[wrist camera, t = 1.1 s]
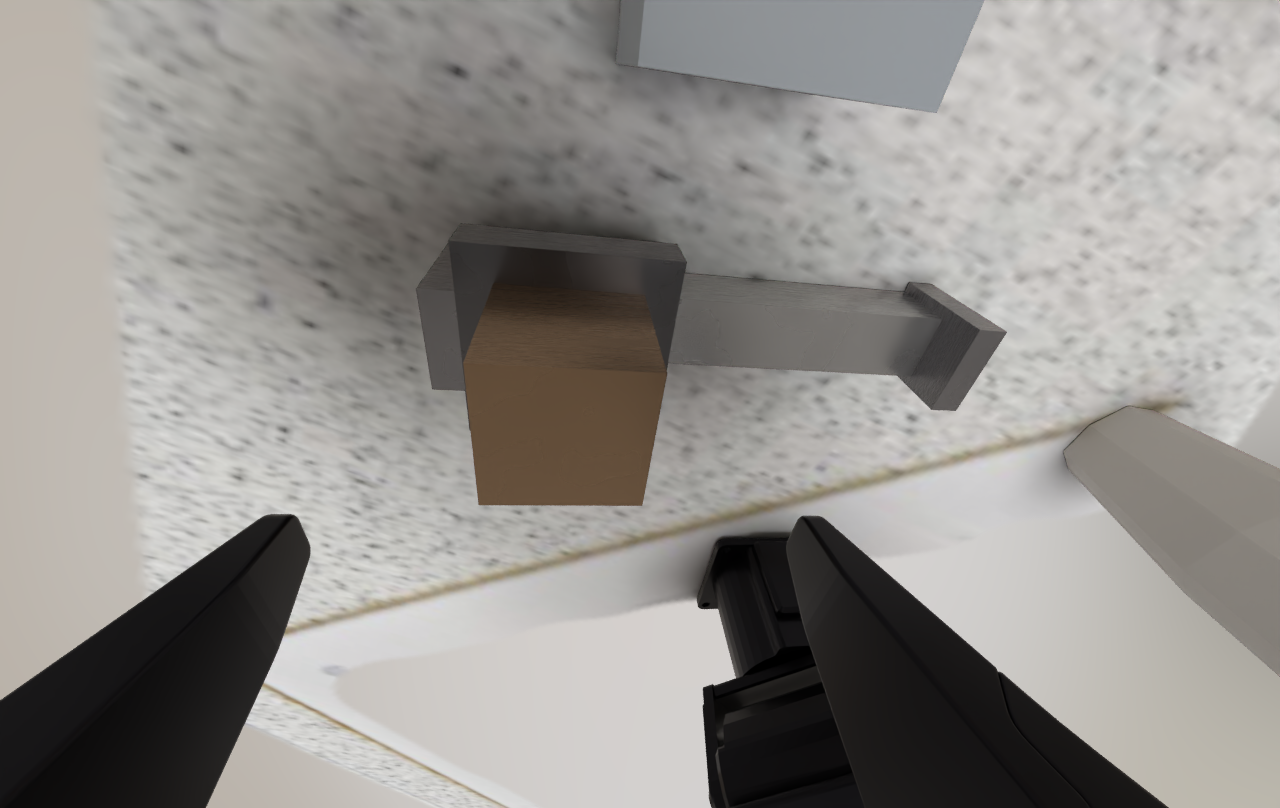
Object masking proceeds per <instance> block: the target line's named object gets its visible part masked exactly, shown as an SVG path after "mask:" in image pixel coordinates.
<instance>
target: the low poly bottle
mask: <svg viewBox="0 0 1280 808" xmlns="http://www.w3.org/2000/svg"><path fill="white" fill-rule="evenodd" d="M1063 452H1064V455H1065V459H1066V463H1067V467H1068V469H1069V470H1070V471H1071V473H1072V474H1073V475H1074V476H1075V477H1076V478H1077V479H1078V480H1079V481H1080V482H1081V483H1082V484H1083V485H1084V486H1085V487H1086V489H1087V490H1088V491H1089V492H1090V493H1091V494H1092V495H1093V496H1094V497H1095V498H1096V499H1097V500H1098V501H1099V502H1100V503H1101V505H1102V506H1103V507H1104V508H1105V509H1106V510H1107V511H1108V512H1109V513H1110V514H1111V515H1112V516H1113V517H1114V518H1115V519H1116V520H1117V522H1118V523H1119V524H1120V525H1121V526H1122V527H1123V528H1124V529H1125V530H1126V531H1127V532H1128V533H1129V534H1130V535H1131V536H1132V538H1133V539H1134V540H1135V541H1136V542H1137V543H1138V544H1139V545H1140V546H1141V547H1142V548H1143V549H1144V550H1145V552H1147V554H1148V555H1149V556H1150V557H1151V558H1152V559H1153V560H1154V561H1155V562H1156V563H1157V564H1158V565H1159V566H1160V567H1161V569H1162V570H1164V572H1165V573H1166V574H1167V575H1168V576H1169V577H1170V578H1171V579H1172V580H1173V581H1174V582H1175V584H1176V585H1177V586H1178V587H1179V588H1180V589H1181V590H1182V591H1183V592H1184V593H1185V594H1186V595H1187V596H1188V597H1190V598H1191V599H1192V600H1193V601H1194V602H1195V603H1196V604H1198V605H1199V606H1200V607H1201V608H1202V609H1203V610H1204V611H1206V612H1207V613H1208V614H1209V615H1210V616H1211V617H1212V618H1214V619H1215V620H1216V621H1217V622H1218V623H1219V624H1220V625H1222V626H1223V627H1224V628H1225V629H1226V630H1227V631H1228V632H1230V633H1231V634H1232V635H1233V636H1234V637H1235V638H1236V639H1237V640H1239V641H1240V642H1241V643H1242V644H1243V645H1244V646H1245V647H1247V648H1248V649H1249V650H1250V651H1251V652H1252V653H1253V654H1254V655H1256V656H1257V657H1258V658H1259V659H1260V660H1261V661H1263V662H1264V663H1265V664H1266V665H1267V666H1268V667H1269V668H1270V669H1272V670H1273V671H1274V672H1275V673H1276V674H1277V675H1278V676H1280V469H1279V468H1277V467H1275V466H1273V465H1270V464H1268V463H1266V462H1264V461H1262V460H1260V459H1257V458H1255V457H1253V456H1251V455H1249V454H1247V453H1245V452H1242V451H1240V450H1238V449H1236V448H1234V447H1232V446H1230V445H1227V444H1225V443H1223V442H1221V441H1219V440H1217V439H1214V438H1212V437H1210V436H1208V435H1206V434H1204V433H1202V432H1199V431H1197V430H1195V429H1193V428H1191V427H1189V426H1186V425H1184V424H1182V423H1180V422H1178V421H1176V420H1174V419H1171V418H1169V417H1167V416H1165V415H1163V414H1161V413H1158V412H1156V411H1154V410H1149V409H1143V408H1137V407H1131V406H1127V407H1125V408H1123V409H1121V410H1119V411H1117V412H1115V413H1113V414H1111V415H1109V416H1107V417H1105V418H1103V419H1101V420H1099V421H1097V422H1095V423H1093V424H1091V425H1089V426H1088V427H1087V428H1086V429H1085V430H1084V431H1083V432H1082V433H1081V434H1080V435H1079V436H1078V437H1077V438H1076V439H1075V440H1074V441H1073V442H1072V443H1071V444H1070V445H1069V446H1068V447H1067V448H1066V449H1065V450H1064V451H1063Z"/></svg>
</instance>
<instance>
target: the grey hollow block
mask: <svg viewBox="0 0 1280 808" xmlns="http://www.w3.org/2000/svg"><path fill="white" fill-rule="evenodd" d="M983 2H984V0H621V2H620V15H619V28H618V41H617V54H616V64H620V65H627V66H633V67H639V68H646V69H652V70H659V71H665V72H671V73H678V74H684V75H691V76H697V77H703V78H710V79H716V80H723V81H729V82H735V83H742V84H748V85H754V86H761V87H767V88H774V89H780V90H786V91H793V92H799V93H806V94H812V95H819V96H825V97H832V98H839V99H846V100H852V101H859V102H866V103H872V104H879V105H886V106H893V107H899V108H906V109H913V110H920V111H926V112H933V113H937V111H938V109H939V106H940V104H941V102H942V99H943V97H944V94H945V92H946V90H947V87H948V85H949V83H950V80H951V78H952V76H953V73H954V71H955V69H956V66H957V64H958V61H959V59H960V57H961V54H962V52H963V50H964V47H965V45H966V43H967V40H968V38H969V35H970V33H971V31H972V28H973V26H974V24H975V21H976V19H977V17H978V14H979V12H980V10H981V7H982V5H983Z"/></svg>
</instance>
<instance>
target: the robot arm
mask: <svg viewBox="0 0 1280 808" xmlns="http://www.w3.org/2000/svg"><path fill="white" fill-rule="evenodd" d="M309 558H310V544H309V541H308V539H307V537H306V535H305V532H304V530H303V528H302V526H301V523H300V521H299V519H298V518H297V517H296V516H295V515H292V514H270V515H266V516H263V517H262V518H260V519H258V520H257V521H255V522H254V523H253V524H251V525H250V526H248V527H247V528H245V529H244V530H243V531H241V532H240V533H238V534H237V535H236V536H234V537H233V538H231V539H230V540H228V541H227V542H226V543H224V544H223V545H221V546H220V547H218V548H217V549H216V550H214V551H213V552H211V553H210V554H208V555H207V556H206V557H204V558H203V559H201V560H200V561H198V562H197V563H196V564H194V565H193V566H191V567H190V568H188V569H187V570H186V571H184V572H183V573H181V574H180V575H178V576H177V577H176V578H174V579H173V580H171V581H170V582H168V583H167V584H166V585H164V586H163V587H161V588H160V589H158V590H157V591H156V592H154V593H153V594H151V595H150V596H148V597H147V598H146V599H144V600H143V601H141V602H140V603H138V604H137V605H136V606H134V607H133V608H131V609H130V610H128V611H127V612H126V613H124V614H123V615H121V616H120V617H118V618H117V619H116V620H114V621H113V622H111V623H110V624H109V625H107V626H106V627H104V628H103V629H101V630H100V631H99V632H97V633H96V634H94V635H93V636H91V637H90V638H89V639H87V640H86V641H84V642H83V643H82V644H80V645H79V646H77V647H76V648H74V649H73V650H72V651H70V652H69V653H67V654H66V655H64V656H63V657H61V658H60V659H59V660H57V661H56V662H54V663H53V664H52V665H50V666H49V667H47V668H46V669H44V670H43V671H42V672H40V673H39V674H37V675H36V676H34V677H33V678H32V679H30V680H29V681H27V682H26V683H24V684H23V685H22V686H20V687H19V688H17V689H16V690H14V691H13V692H11V693H10V694H9V695H7V696H6V697H4V698H3V699H2V700H0V808H206V806H207V804H208V802H209V800H210V798H211V796H212V793H213V791H214V789H215V787H216V784H217V782H218V780H219V778H220V776H221V774H222V772H223V769H224V767H225V765H226V763H227V761H228V758H229V756H230V754H231V752H232V750H233V748H234V746H235V743H236V741H237V739H238V737H239V735H240V733H241V730H242V728H243V726H244V724H245V722H246V720H247V717H248V715H249V713H250V711H251V709H252V707H253V704H254V702H255V700H256V698H257V696H258V693H259V691H260V689H261V687H262V685H263V683H264V680H265V678H266V676H267V674H268V672H269V670H270V667H271V665H272V663H273V661H274V658H275V656H276V654H277V651H278V649H279V646H280V644H281V641H282V638H283V636H284V633H285V630H286V627H287V624H288V621H289V618H290V615H291V612H292V609H293V606H294V603H295V600H296V597H297V594H298V591H299V588H300V585H301V582H302V579H303V576H304V573H305V570H306V567H307V564H308V561H309ZM697 603H698V607H699V608H701V609H718V610H719V613H720V617H721V621H722V625H723V629H724V633H725V637H726V641H727V645H728V649H729V653H730V656H731V660H732V664H733V668H734V672H735V676H736V679H733V680H730V681H727V682H724V683H721V684H718V685H715V686H714V685H713V684H712V685H709V686H706V687H703V697H704V705H703V717H704V730H705V743H706V756H707V769H708V783H709V800H710V804H711V807H712V808H1168V807H1167V806H1166V805H1165V804H1163V803H1162V802H1161V801H1159V800H1158V799H1157V798H1155V797H1154V796H1153V795H1152V794H1150V793H1149V792H1148V791H1147V790H1145V789H1144V788H1143V787H1141V786H1140V785H1139V784H1138V783H1136V782H1135V781H1134V780H1132V779H1131V778H1130V777H1129V776H1127V775H1126V774H1125V773H1123V772H1122V771H1121V770H1120V769H1118V768H1117V767H1116V766H1114V765H1113V764H1112V763H1111V762H1109V761H1108V760H1107V759H1105V758H1104V757H1103V756H1102V755H1100V754H1099V753H1098V752H1097V751H1095V750H1094V749H1093V748H1092V747H1090V746H1089V745H1088V744H1087V743H1085V742H1084V741H1083V740H1082V739H1080V738H1079V737H1078V736H1077V735H1075V734H1074V733H1073V732H1072V731H1070V730H1069V729H1068V728H1067V727H1065V726H1064V725H1063V724H1062V723H1060V722H1059V721H1058V720H1057V719H1056V718H1054V717H1053V716H1052V715H1051V714H1050V713H1048V712H1047V711H1046V710H1045V709H1044V708H1042V707H1041V706H1040V705H1039V704H1038V703H1037V702H1035V701H1034V700H1033V699H1032V698H1031V697H1029V696H1028V695H1027V694H1026V693H1024V691H1022V690H1021V689H1020V688H1019V687H1018V686H1016V684H1014V683H1013V682H1012V681H1011V680H1010V679H1008V678H1007V677H1006V676H1005V675H1004V674H1003V673H1001V672H998V671H997V669H996V667H994V666H993V665H992V664H991V663H990V662H989V661H988V660H986V659H985V658H984V657H983V656H982V655H981V654H980V653H978V652H977V651H976V650H975V649H974V648H973V647H972V646H970V645H969V644H968V643H967V642H966V641H965V640H963V639H962V638H961V637H960V636H959V635H958V634H957V633H955V632H954V631H953V630H952V629H951V628H950V627H949V626H947V625H946V624H945V623H944V622H943V621H942V620H941V619H939V618H938V617H937V616H936V615H935V614H934V613H932V612H931V611H930V610H929V609H928V608H927V607H926V606H924V605H923V604H922V603H921V602H920V601H918V599H916V598H915V597H914V596H913V595H912V594H911V593H909V592H908V591H907V590H906V589H905V588H904V587H903V586H901V585H900V584H899V583H898V582H897V581H896V580H894V579H893V578H892V577H891V576H890V575H889V574H888V573H886V572H885V571H884V570H883V569H882V568H880V566H878V565H877V564H876V563H875V562H874V561H873V560H872V559H870V558H869V557H868V556H867V555H866V554H865V553H863V552H862V551H861V550H860V549H859V548H858V547H857V546H855V545H854V544H853V543H852V542H851V541H850V540H849V539H847V538H846V537H845V536H844V535H843V534H842V533H840V532H839V531H838V530H837V529H836V528H835V527H834V526H832V525H831V524H830V523H829V522H828V521H827V520H825V519H824V518H822V517H820V516H801V517H800V518H799V519H798V520H797V522H796V524H795V526H794V529H793V531H792V533H791V535H790V537H789V538H773V539H723V540H720V541H719V542H717V544H716V546H715V549H714V552H713V554H712V557H711V560H710V563H709V566H708V569H707V572H706V575H705V577H704V580H703V583H702V586H701V589H700V592H699V595H698V597H697Z"/></svg>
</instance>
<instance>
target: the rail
mask: <svg viewBox="0 0 1280 808" xmlns="http://www.w3.org/2000/svg"><path fill="white" fill-rule="evenodd" d="M416 291H417V297H418V304H419V310H420V316H421V322H422V328H423V335H424V341H425V347H426V353H427V359H428V366H429V372H430V378H431V384H432V389H436V390H461V391H465V383H464V374H463V365H462V357H461V348H460V339H459V330H458V321H457V312H456V303H455V294H454V285H453V276H452V267H451V258H450V249H449V243H448V244H447V245H446V247H445V248H444V250H443V251H442V253H441V254H440V255H439V257H438V258H437V260H436V261H435V262H434V264H433V265H432V267H431V268H430V270H429V271H428V272H427V274H426V275H425V277H424V278H423V280H422V281H421V282H420V284H419V285H418V287H417V288H416ZM1006 333H1007V332H1006V331H1005V330H1003V329H1002V328H1000V327H998V326H997V325H995V324H994V323H992V322H991V321H989V320H987V319H986V318H984V317H983V316H981V315H980V314H978V313H976V312H975V311H973V310H972V309H970V308H968V307H967V306H965V305H964V304H962V303H961V302H959V301H957V300H956V299H954V298H953V297H951V296H950V295H948V294H946V293H945V292H943V291H942V290H940V289H939V288H937V287H935V286H934V285H932V284H923V283H911V282H909V284H908V286H907V288H906V290H905V292H899V291H887V290H875V289H864V288H852V287H840V286H829V285H817V284H805V283H794V282H782V281H771V280H759V279H747V278H736V277H724V276H712V275H701V274H689V273H685V274H684V280H683V285H682V290H681V296H680V301H679V306H678V312H677V317H676V322H675V328H674V333H673V338H672V344H671V349H670V354H669V360H668V363H673V364H691V365H710V366H729V367H747V368H766V369H785V370H803V371H822V372H841V373H859V374H878V375H897V376H898V377H899V378H900V379H901V380H902V381H903V382H904V383H905V384H906V385H907V386H908V387H909V388H910V389H911V390H912V391H913V392H914V393H915V394H916V395H917V396H918V397H919V398H920V399H921V400H922V401H923V402H924V403H925V404H926V405H927V406H928V407H929V408H930V409H931V410H950V411H956V410H957V408H958V407H959V405H960V404H961V402H962V401H963V399H964V397H965V396H966V394H967V393H968V391H969V390H970V388H971V387H972V385H973V384H974V382H975V381H976V379H977V378H978V376H979V374H980V373H981V371H982V370H983V368H984V367H985V365H986V364H987V362H988V361H989V359H990V358H991V356H992V354H993V353H994V351H995V350H996V348H997V347H998V345H999V344H1000V342H1001V341H1002V339H1003V338H1004V336H1005V334H1006Z"/></svg>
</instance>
